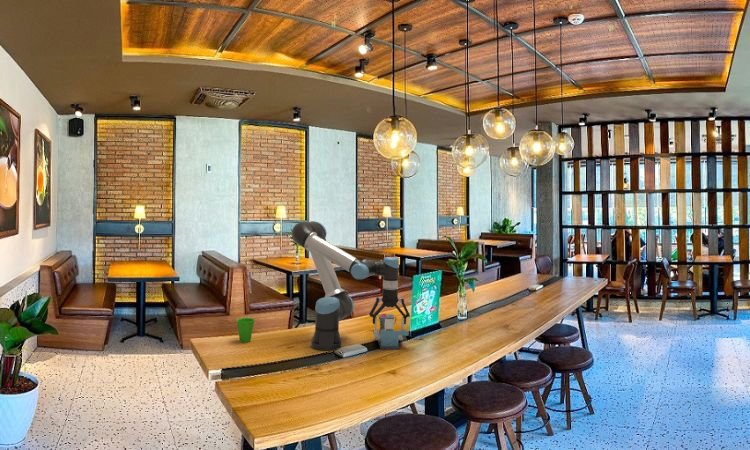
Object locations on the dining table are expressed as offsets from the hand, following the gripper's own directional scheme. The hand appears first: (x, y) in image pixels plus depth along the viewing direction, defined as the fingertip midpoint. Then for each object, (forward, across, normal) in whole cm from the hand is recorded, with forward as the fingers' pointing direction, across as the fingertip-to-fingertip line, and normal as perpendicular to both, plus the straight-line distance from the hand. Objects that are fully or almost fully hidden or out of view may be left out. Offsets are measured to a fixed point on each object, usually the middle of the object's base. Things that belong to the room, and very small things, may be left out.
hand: (389, 330), depth 237 cm
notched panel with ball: (+8, +1, +4) cm, 9 cm away
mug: (+8, +2, +22) cm, 23 cm away
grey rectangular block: (+7, 0, 0) cm, 7 cm away
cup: (+8, -72, +8) cm, 73 cm away
